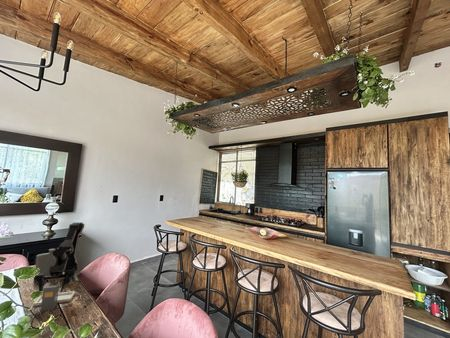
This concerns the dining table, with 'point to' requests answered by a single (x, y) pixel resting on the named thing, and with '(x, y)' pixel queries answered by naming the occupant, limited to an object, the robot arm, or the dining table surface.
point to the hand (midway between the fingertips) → (50, 293)
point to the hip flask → (45, 262)
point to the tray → (61, 298)
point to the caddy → (50, 295)
